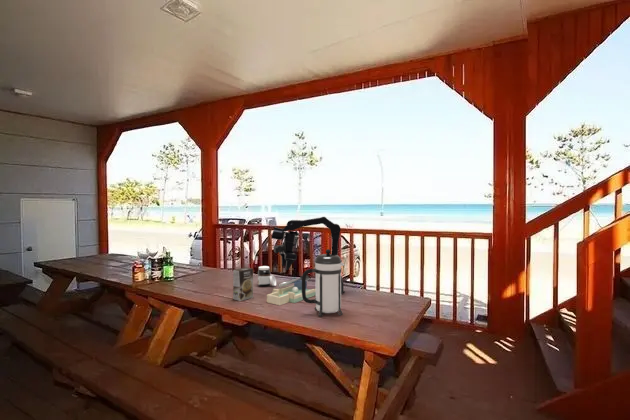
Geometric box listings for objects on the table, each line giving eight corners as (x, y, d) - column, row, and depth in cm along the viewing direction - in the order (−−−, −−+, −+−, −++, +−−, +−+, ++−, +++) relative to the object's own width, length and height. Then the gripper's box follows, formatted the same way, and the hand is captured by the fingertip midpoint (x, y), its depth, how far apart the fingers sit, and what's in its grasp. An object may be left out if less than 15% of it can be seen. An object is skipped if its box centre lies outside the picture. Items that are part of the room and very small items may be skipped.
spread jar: (257, 284, 211) (256, 266, 211) (274, 282, 214) (274, 264, 214) (259, 288, 200) (259, 269, 199) (277, 287, 203) (277, 268, 203)
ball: (299, 292, 183) (299, 286, 183) (295, 293, 180) (295, 287, 180) (294, 291, 185) (294, 285, 185) (291, 292, 182) (291, 287, 182)
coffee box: (240, 301, 173) (240, 271, 173) (232, 299, 177) (232, 269, 177) (253, 297, 180) (253, 268, 180) (245, 295, 184) (245, 267, 184)
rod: (315, 286, 194) (315, 276, 194) (288, 295, 175) (288, 284, 175) (304, 284, 199) (304, 274, 199) (277, 293, 180) (277, 282, 180)
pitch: (317, 294, 186) (317, 285, 186) (284, 306, 164) (284, 296, 164) (295, 290, 195) (295, 281, 195) (262, 301, 173) (262, 291, 173)
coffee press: (323, 305, 166) (323, 246, 165) (350, 311, 156) (350, 248, 155) (300, 314, 152) (300, 250, 152) (328, 322, 142) (328, 253, 142)
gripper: (272, 237, 196) (268, 263, 197) (279, 242, 179) (275, 270, 179) (290, 239, 200) (286, 264, 201) (298, 244, 183) (294, 272, 183)
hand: (285, 267), depth 191 cm, fingers open, 9 cm apart
